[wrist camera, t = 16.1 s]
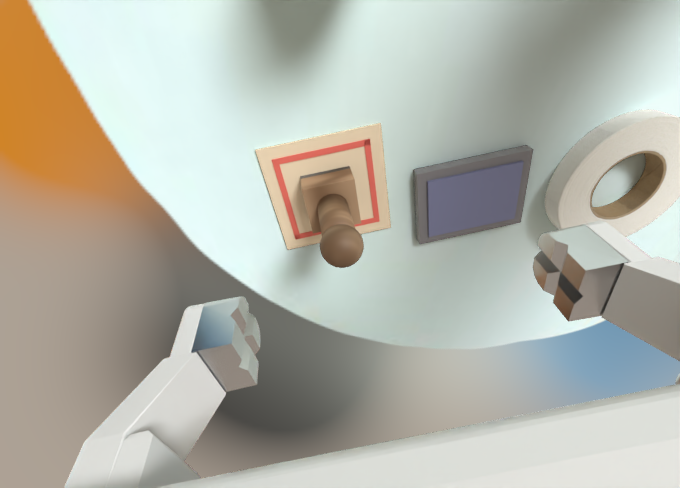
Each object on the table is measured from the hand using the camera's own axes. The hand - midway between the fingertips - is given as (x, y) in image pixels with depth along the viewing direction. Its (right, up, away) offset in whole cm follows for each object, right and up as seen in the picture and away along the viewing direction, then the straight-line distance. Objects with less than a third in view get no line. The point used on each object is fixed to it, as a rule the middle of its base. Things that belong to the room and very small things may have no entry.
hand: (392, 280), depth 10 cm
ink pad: (+13, +6, +30) cm, 33 cm away
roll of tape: (+30, +9, +31) cm, 44 cm away
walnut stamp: (-3, +6, +27) cm, 28 cm away
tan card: (-3, +6, +27) cm, 28 cm away
